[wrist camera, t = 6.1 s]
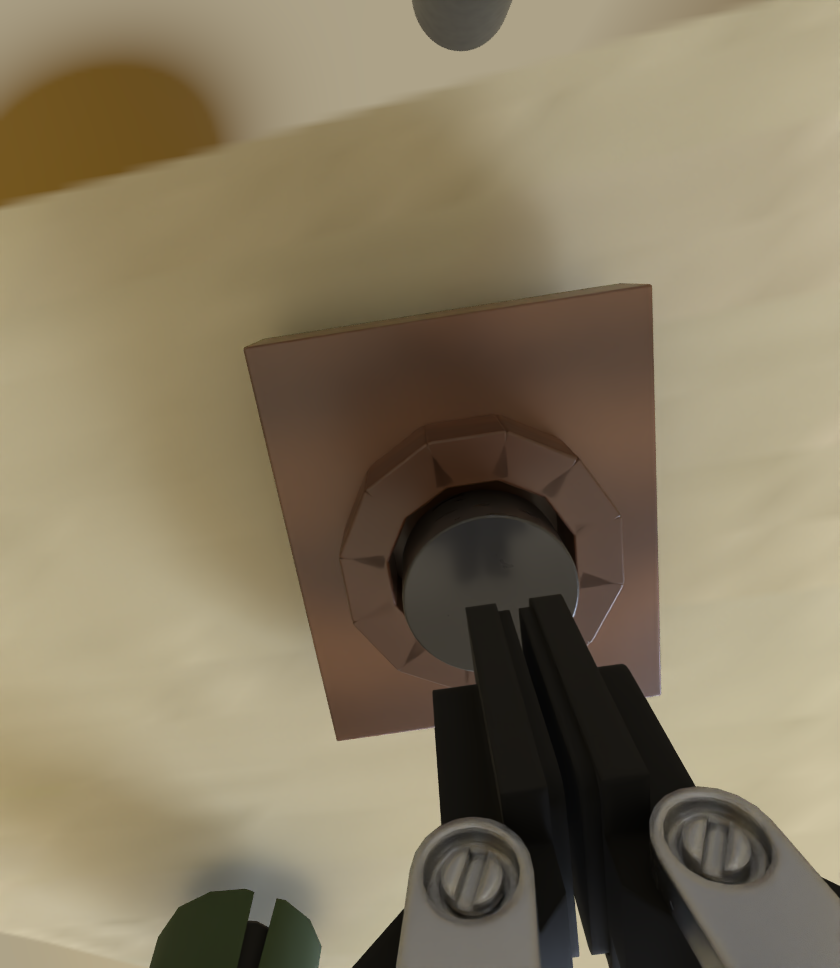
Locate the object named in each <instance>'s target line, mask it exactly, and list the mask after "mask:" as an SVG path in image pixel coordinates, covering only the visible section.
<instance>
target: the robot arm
mask: <svg viewBox="0 0 840 968" xmlns="http://www.w3.org/2000/svg"><path fill="white" fill-rule="evenodd" d="M465 611H466V618H467V625H468V632H469V640H470V647H471V654H472V661H473V668H474V675H475V682H476V684H473V685H466V686H459V687H452V688H445V689H438V690H433V692H432V695H433V711H434V725H435V740H436V754H437V768H438V783H439V797H440V812H441V826H439V827H438V828H437V829H435V830H434V831H433V832H432V833H430V834H429V835H428V836H427V837H426V838H425V839H424V840H423V842H422V843H421V845H420V846H419V848H418V849H417V851H416V852H415V855H414V858H413V862H412V865H411V868H410V873H409V880H408V887H407V894H406V901H405V908H404V909H403V910H402V911H401V913H400V914H399V915H398V916H397V917H396V918H395V919H394V921H393V922H392V923H391V924H390V925H389V926H388V927H387V928H386V930H385V931H384V932H383V933H382V934H381V935H380V936H379V938H378V939H377V940H376V941H375V942H374V943H373V944H372V946H371V947H370V948H369V949H368V950H367V951H366V952H365V954H364V955H363V956H362V957H361V958H360V959H359V960H358V962H357V963H356V964H355V965H354V966H353V967H352V968H573V962H572V958H573V957H579V945H578V933H577V922H576V911H575V900H576V903H577V907H578V911H579V914H580V918H581V922H582V925H583V929H584V933H585V936H586V940H587V943H588V947H589V950H590V952H591V954H592V955H596V954H604V953H605V955H606V958H607V961H608V965H609V968H840V886H839V885H837V884H835V883H833V882H830V881H828V880H826V879H824V878H822V877H821V876H820V875H819V874H818V873H817V872H816V871H815V869H814V868H813V867H812V866H811V865H810V864H809V862H808V861H807V860H806V859H805V858H804V857H803V856H802V854H801V853H800V852H799V851H798V850H797V849H796V847H795V846H794V845H793V844H792V843H791V842H790V841H789V839H788V838H787V837H786V836H785V835H784V834H783V832H782V831H781V830H780V829H779V828H778V827H777V826H776V824H775V823H774V822H773V821H772V820H771V819H770V818H769V817H768V816H767V815H765V814H764V813H763V812H762V811H761V810H760V809H759V808H758V807H757V806H755V805H753V804H752V803H750V802H748V801H746V800H745V799H743V798H741V797H740V796H738V795H735V794H732V793H729V792H726V791H723V790H720V789H716V788H708V787H699V786H697V787H696V786H695V785H694V783H693V781H692V779H691V778H690V776H689V774H688V772H687V770H686V769H685V767H684V765H683V763H682V762H681V760H680V758H679V756H678V755H677V753H676V751H675V749H674V747H673V746H672V744H671V742H670V740H669V739H668V737H667V735H666V733H665V732H664V730H663V728H662V726H661V725H660V723H659V721H658V719H657V717H656V716H655V714H654V712H653V710H652V709H651V707H650V705H649V703H648V702H647V700H646V698H645V696H644V694H643V693H642V691H641V689H640V687H639V686H638V684H637V682H636V680H635V679H634V677H633V675H632V673H631V672H630V670H629V669H628V667H627V666H626V665H624V664H616V665H608V666H601V667H597V665H596V663H595V661H594V659H593V657H592V655H591V653H590V651H589V649H588V647H587V645H586V643H585V641H584V639H583V637H582V635H581V633H580V631H579V629H578V626H577V624H576V622H575V620H574V618H573V616H572V614H571V612H570V610H569V608H568V606H567V604H566V602H565V600H564V598H563V596H562V595H561V594H555V595H548V596H541V597H534V598H529V607H524V608H519V622H520V632H521V641H522V648H521V644H520V641H519V638H518V635H517V632H516V629H515V625H514V622H513V619H512V616H511V613H510V610H503V611H498V608H497V605H496V603H493V604H486V605H479V606H472V607H465ZM522 650H523V651H522ZM574 896H575V899H574Z"/></svg>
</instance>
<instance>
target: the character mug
mask: <svg viewBox="0 0 840 968" xmlns="http://www.w3.org/2000/svg"><path fill="white" fill-rule="evenodd" d="M253 895H254V892H253V891H250V890H247V889H239V890H226V891H214V892H209V893H207V894H205V895H203V896H201V897H199V898H197V899H195V900H193V901H191V902H188V903H186V904H184V905H182V906H180V907H179V908H178V909H177V911H176V912H175V914H174V915H173V916H172V918H171V919H170V921H169V922H168V924H167V925H166V927H165V928H164V929H163V931H162V932H161V934H160V935H159V937H158V940H157V943H156V947H155V950H154V954H153V957H152V961H151V964H150V968H318V966H319V959H320V953H321V947H322V946H321V944H320V942H319V939H318V937H317V935H316V933H315V930H314V928H313V926H312V923H311V921H310V919H308V918H307V917H306V916H305V915H303V914H302V913H301V912H300V911H298V910H297V909H296V908H295V907H293V906H292V905H291V904H290V903H288V902H287V901H286V900H282V899H276V903H275V907H274V911H273V915H272V918H271V922H270V926H269V927H267V926H265V925H263V924H261V923H259V922H258V921H248V917H249V913H250V908H251V904H252V900H253Z"/></svg>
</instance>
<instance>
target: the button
mask: <svg viewBox="0 0 840 968" xmlns="http://www.w3.org/2000/svg"><path fill="white" fill-rule="evenodd" d="M555 594H561V595H562V596H563V598H564V600H565V602H566V604H567V606H568V608H569V610H570V612H571V614H572V616H573V617H574V615H575V612H576V608H577V605H578V599H579V579H578V573H577V570H576V566H575V563H574V561H573V559H572V557H571V555H570V553H569V552H568V550H567V548H566V547H565V545H564V543H563V542H562V540H561V538H560V537H559V535H558V534H557V532H556V530H555V529H554V527H553V525H552V524H551V522H550V521H549V519H548V518H547V517H546V516H545V515H544V514H543V513H542V511H541V510H539V509H538V508H537V507H536V506H535V505H533V504H532V503H530V502H529V501H527V500H525V499H524V498H521V497H519V496H517V495H514V494H511V493H508V492H504V491H498V490H472V491H468V492H463V493H460V494H457V495H454V496H451V497H449V498H447V499H445V500H443V501H441V502H440V503H438V504H437V505H435V506H433V507H432V508H431V509H430V510H429V511H427V512H426V513H425V514H424V515H423V516H422V517H421V519H420V520H419V521H418V522H417V523H416V525H415V526H414V528H413V529H412V531H411V533H410V535H409V537H408V539H407V542H406V545H405V548H404V553H403V559H402V602H403V611H404V615H405V618H406V621H407V624H408V626H409V628H410V630H411V632H412V634H413V635H414V637H415V638H416V639H417V641H418V642H419V643H420V644H421V646H422V647H423V648H425V649H426V650H427V651H428V652H429V653H430V654H431V655H433V656H434V657H436V658H437V659H438V660H440V661H442V662H444V663H446V664H448V665H450V666H453V667H456V668H459V669H463V670H466V671H472V672H474V668H473V661H472V654H471V647H470V640H469V632H468V625H467V618H466V611H465V607H472V606H479V605H486V604H493V603H496V605H497V608H498V611H503V610H510V613H511V616H512V619H513V622H514V625H515V629H516V632H517V635H518V638H519V641H520V644H521V648H522V641H521V632H520V622H519V608H524V607H529V598H534V597H541V596H548V595H555ZM522 651H523V650H522Z"/></svg>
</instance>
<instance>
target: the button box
mask: <svg viewBox="0 0 840 968" xmlns="http://www.w3.org/2000/svg"><path fill="white" fill-rule="evenodd" d="M244 354H245V358H246V362H247V366H248V371H249V375H250V379H251V383H252V387H253V392H254V396H255V400H256V404H257V408H258V412H259V417H260V421H261V425H262V429H263V433H264V438H265V442H266V446H267V450H268V454H269V458H270V463H271V467H272V471H273V475H274V479H275V484H276V488H277V492H278V496H279V500H280V504H281V509H282V513H283V517H284V521H285V525H286V530H287V534H288V538H289V542H290V546H291V550H292V555H293V559H294V563H295V567H296V571H297V576H298V580H299V584H300V588H301V592H302V597H303V601H304V605H305V609H306V613H307V617H308V622H309V626H310V630H311V634H312V638H313V643H314V647H315V651H316V655H317V659H318V663H319V668H320V672H321V676H322V680H323V684H324V689H325V693H326V697H327V701H328V705H329V709H330V714H331V718H332V722H333V726H334V730H335V735H336V739H337V741H342V740H349V739H356V738H363V737H370V736H377V735H384V734H391V733H399V732H406V731H413V730H420V729H427V728H434V727H435V725H434V711H433V695H432V692H433V690H438V689H445V688H452V687H459V686H466V685H473V684H476V682H475V675H474V672H472V671H466V670H463V669H459V668H456V667H453V666H450V665H448V664H446V663H444V662H442V661H440V660H438V659H437V658H436V657H434V656H433V655H431V654H430V653H429V652H428V651H427V650H426V649H425V648H423V647H422V646H421V644H420V643H419V642H418V641H417V639H416V638H415V637H414V635H413V634H412V632H411V630H410V628H409V626H408V624H407V621H406V618H405V615H404V611H403V602H402V559H403V553H404V548H405V545H406V542H407V539H408V537H409V535H410V533H411V531H412V529H413V528H414V526H415V525H416V523H417V522H418V521H419V520H420V519H421V517H422V516H423V515H424V514H425V513H426V512H427V511H429V510H430V509H431V508H432V507H433V506H435V505H437V504H438V503H440V502H441V501H443V500H445V499H447V498H449V497H451V496H454V495H457V494H460V493H463V492H468V491H472V490H498V491H504V492H508V493H511V494H514V495H517V496H519V497H521V498H524V499H525V500H527V501H529V502H530V503H532V504H533V505H535V506H536V507H537V508H538V509H539V510H541V511H542V513H543V514H544V515H545V516H546V517H547V518H548V519H549V521H550V522H551V524H552V525H553V527H554V529H555V530H556V532H557V534H558V535H559V537H560V538H561V540H562V542H563V543H564V545H565V547H566V548H567V550H568V552H569V553H570V555H571V557H572V559H573V561H574V563H575V566H576V570H577V573H578V579H579V599H578V605H577V608H576V612H575V615H574V617H573V618H574V620H575V622H576V624H577V626H578V629H579V631H580V633H581V635H582V637H583V639H584V641H585V643H586V645H587V647H588V649H589V651H590V653H591V655H592V657H593V659H594V661H595V663H596V665H597V667H601V666H608V665H616V664H624V665H626V666H627V667H628V669H629V670H630V672H631V673H632V675H633V677H634V679H635V680H636V682H637V684H638V686H639V687H640V689H641V691H642V693H643V694H644V696H645V698H646V697H653V696H660V695H661V665H660V621H659V577H658V533H657V489H656V445H655V401H654V357H653V313H652V286H651V285H650V284H623V283H619V284H613V285H606V286H600V287H594V288H587V289H581V290H574V291H568V292H561V293H555V294H549V295H542V296H536V297H529V298H523V299H517V300H510V301H504V302H497V303H491V304H484V305H478V306H472V307H465V308H459V309H452V310H446V311H439V312H433V313H427V314H420V315H414V316H407V317H401V318H394V319H388V320H382V321H375V322H369V323H362V324H356V325H349V326H343V327H337V328H330V329H324V330H317V331H311V332H304V333H298V334H292V335H285V336H279V337H272V338H266V339H262V340H260V341H258V342H256V343H253V344H251V345H249V346H247V347H245V348H244Z"/></svg>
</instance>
